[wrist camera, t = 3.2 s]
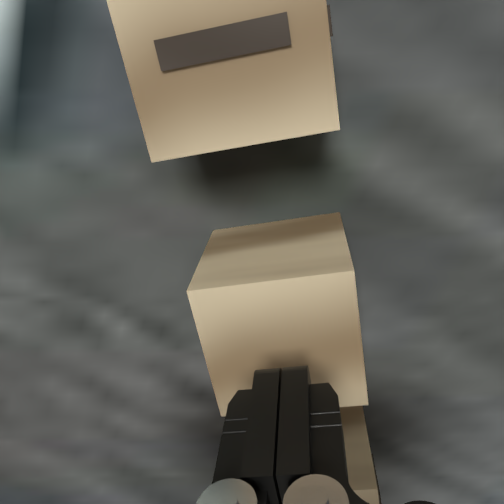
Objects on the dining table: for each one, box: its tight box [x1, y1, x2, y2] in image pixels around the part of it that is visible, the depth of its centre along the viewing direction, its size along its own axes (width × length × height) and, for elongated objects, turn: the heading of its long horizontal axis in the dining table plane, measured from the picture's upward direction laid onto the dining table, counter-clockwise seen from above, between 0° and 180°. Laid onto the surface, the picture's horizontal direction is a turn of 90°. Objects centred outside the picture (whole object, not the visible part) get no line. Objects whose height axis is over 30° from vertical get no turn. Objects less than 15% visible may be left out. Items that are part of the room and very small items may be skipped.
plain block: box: [187, 212, 369, 416], centre depth 17 cm, size 5×5×5 cm
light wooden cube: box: [340, 406, 381, 504], centre depth 20 cm, size 5×5×5 cm
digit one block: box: [107, 0, 340, 162], centre depth 13 cm, size 5×5×5 cm
